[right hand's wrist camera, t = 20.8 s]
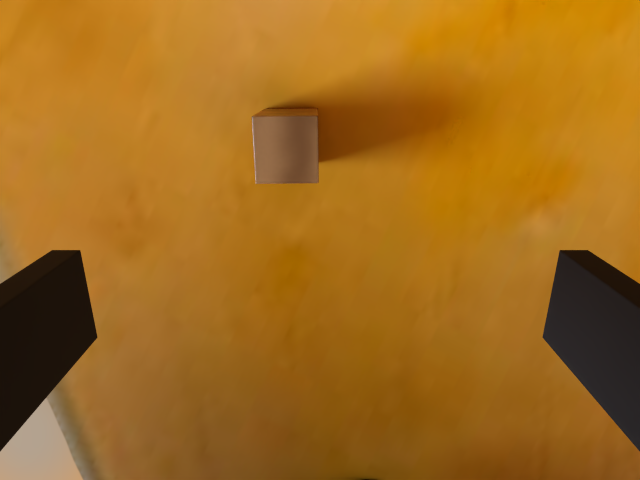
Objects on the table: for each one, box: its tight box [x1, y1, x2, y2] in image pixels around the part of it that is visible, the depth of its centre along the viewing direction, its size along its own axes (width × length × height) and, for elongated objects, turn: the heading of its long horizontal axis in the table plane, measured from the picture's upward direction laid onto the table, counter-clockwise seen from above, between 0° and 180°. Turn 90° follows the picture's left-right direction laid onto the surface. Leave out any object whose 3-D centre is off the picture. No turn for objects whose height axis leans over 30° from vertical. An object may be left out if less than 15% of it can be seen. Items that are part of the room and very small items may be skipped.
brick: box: [252, 108, 319, 184], centre depth 46 cm, size 6×6×11 cm
